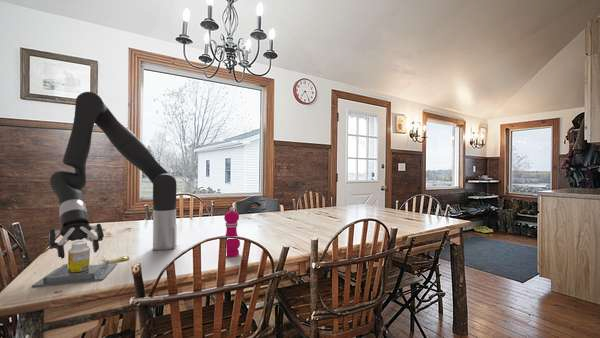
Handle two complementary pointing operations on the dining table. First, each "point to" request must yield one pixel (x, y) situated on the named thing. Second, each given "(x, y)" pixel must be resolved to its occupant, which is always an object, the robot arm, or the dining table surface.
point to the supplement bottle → (78, 258)
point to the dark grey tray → (76, 275)
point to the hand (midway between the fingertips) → (80, 254)
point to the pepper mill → (232, 232)
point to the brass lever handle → (119, 259)
